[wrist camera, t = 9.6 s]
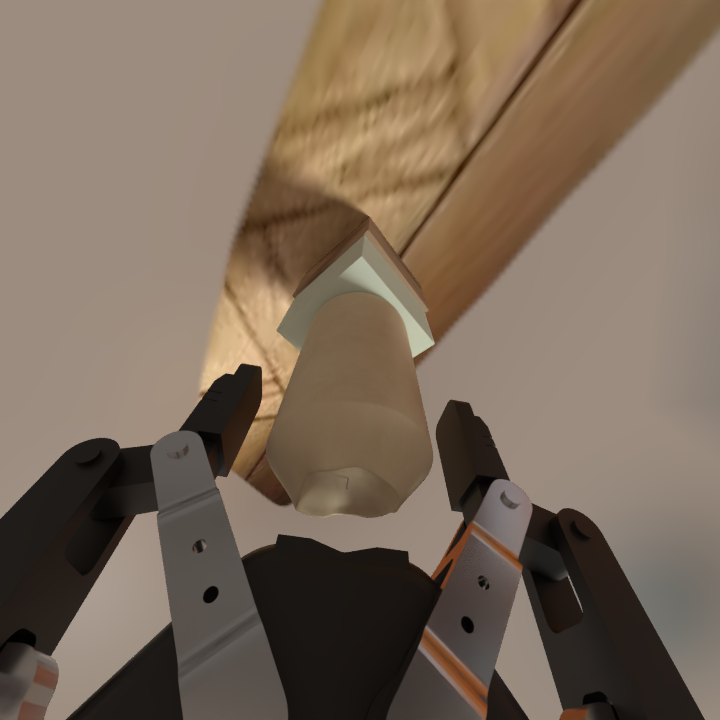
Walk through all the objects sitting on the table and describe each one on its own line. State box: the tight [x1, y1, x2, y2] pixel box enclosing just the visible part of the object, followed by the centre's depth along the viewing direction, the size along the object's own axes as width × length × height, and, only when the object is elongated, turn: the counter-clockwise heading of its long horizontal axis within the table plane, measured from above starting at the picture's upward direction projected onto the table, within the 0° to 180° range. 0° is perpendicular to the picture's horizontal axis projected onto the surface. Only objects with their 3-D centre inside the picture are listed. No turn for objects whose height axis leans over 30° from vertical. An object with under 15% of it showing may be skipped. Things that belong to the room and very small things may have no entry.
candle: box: [266, 292, 433, 518], centre depth 13 cm, size 6×6×10 cm
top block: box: [276, 234, 435, 357], centre depth 19 cm, size 6×6×5 cm
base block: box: [293, 217, 429, 313], centre depth 23 cm, size 7×7×5 cm
